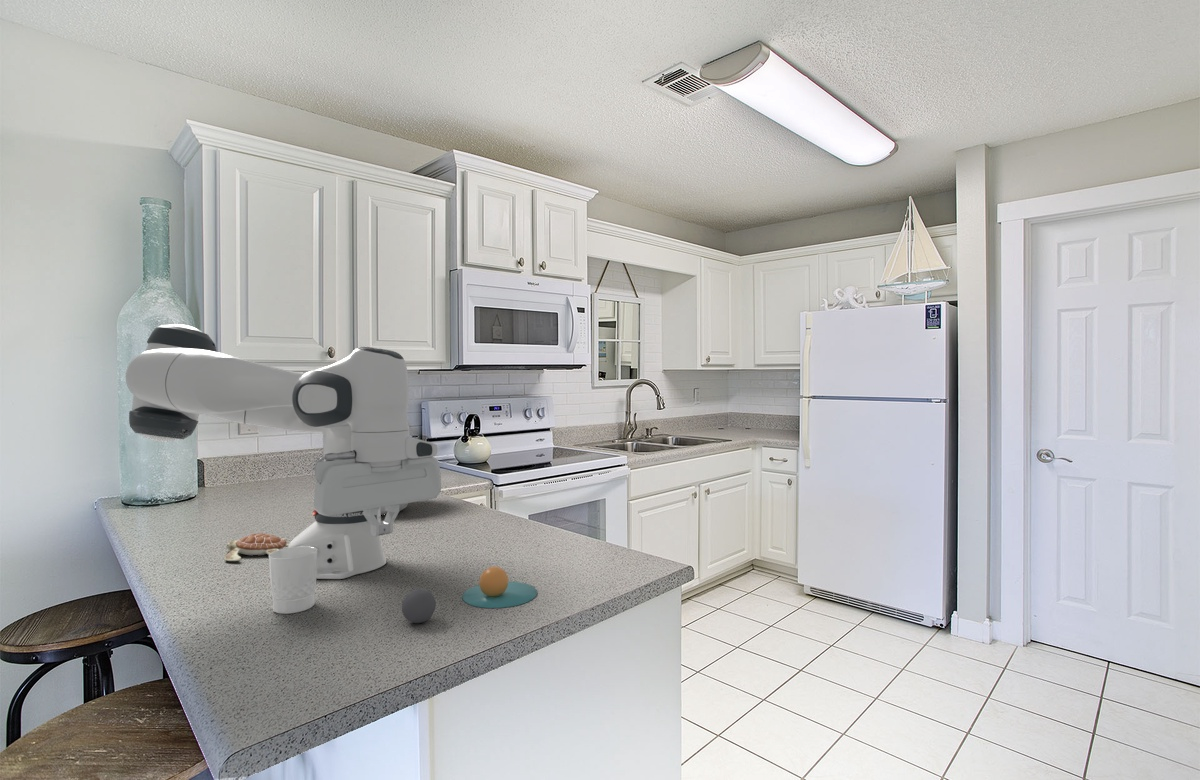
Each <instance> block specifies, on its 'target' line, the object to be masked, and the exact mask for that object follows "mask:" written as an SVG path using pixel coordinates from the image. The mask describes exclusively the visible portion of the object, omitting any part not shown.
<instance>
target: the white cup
mask: <svg viewBox="0 0 1200 780" xmlns="http://www.w3.org/2000/svg"><path fill="white" fill-rule="evenodd" d="M317 553H318V549H317V548H315V547H308V546H300V547H290V548H288V547H284V548H283V549H280V550H277V551H274V552H272V553H270V554H269V555H268V564H269V566H268V567H269V581H270V590H271V591H270V592H271V593H270V594H271V597H272V610H273V612H274V613H277V614H285V615H288V614H296V613H300V612H304V611H307V610H309V609H311V608H312V607H313V606H315V605H316V604H315V603H316V588H317V579H316V576H317Z"/></svg>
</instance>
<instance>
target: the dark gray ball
mask: <svg viewBox="0 0 1200 780" xmlns="http://www.w3.org/2000/svg"><path fill="white" fill-rule="evenodd" d="M436 603H437V602H436V598H435V597H434V595H433V593H431V591H429V590H427V589H425V588H416V589H413V590H411V591H410V592H409V593H407V594H406V596H405V597H404V598H403V600H402V604H401V612H402V614H403V616H404V618H405V619H406V620H407V621H408V622H410V623H413V624H421V623H425V622H427V621H428V620H429V619H431V617H432V616H433V615H434V613H435V611H436V607H437V605H436Z"/></svg>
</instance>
